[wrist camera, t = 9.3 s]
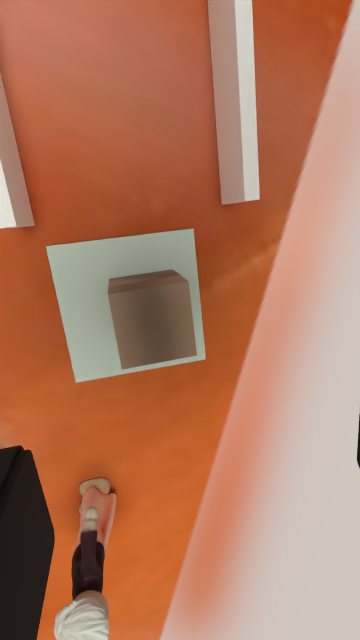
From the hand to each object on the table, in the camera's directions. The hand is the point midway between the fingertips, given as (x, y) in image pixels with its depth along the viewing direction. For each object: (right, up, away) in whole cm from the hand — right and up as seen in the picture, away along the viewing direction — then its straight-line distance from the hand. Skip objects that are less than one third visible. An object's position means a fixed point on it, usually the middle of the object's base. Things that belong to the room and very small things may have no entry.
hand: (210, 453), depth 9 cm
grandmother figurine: (-9, -12, +22) cm, 27 cm away
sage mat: (-5, +5, +18) cm, 19 cm away
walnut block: (-4, +5, +18) cm, 19 cm away
